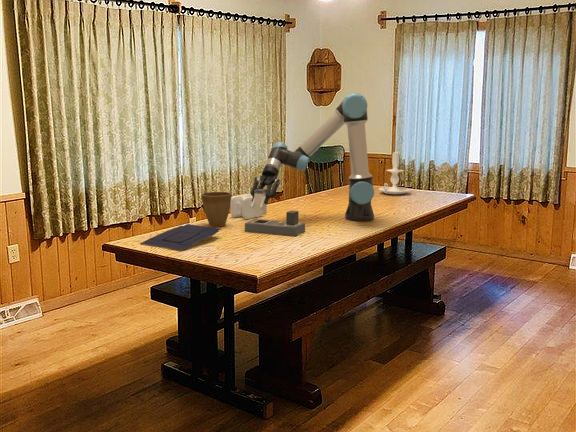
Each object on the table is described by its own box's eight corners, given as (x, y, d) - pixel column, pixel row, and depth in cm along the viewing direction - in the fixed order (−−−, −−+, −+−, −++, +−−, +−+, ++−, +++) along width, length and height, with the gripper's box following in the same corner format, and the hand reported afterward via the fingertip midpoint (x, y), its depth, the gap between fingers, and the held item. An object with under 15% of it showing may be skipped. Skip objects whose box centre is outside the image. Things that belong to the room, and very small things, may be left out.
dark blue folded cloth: (225, 235, 279) (225, 227, 278) (182, 257, 254) (181, 249, 253) (185, 229, 291) (184, 221, 290) (139, 249, 267) (138, 241, 266)
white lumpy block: (243, 220, 317) (243, 198, 315) (229, 217, 324) (229, 196, 322) (264, 216, 328) (263, 195, 325) (250, 213, 335) (250, 192, 332)
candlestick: (369, 195, 397) (370, 152, 392) (387, 190, 417) (388, 149, 411) (398, 198, 385) (400, 153, 380) (415, 193, 405) (417, 150, 399)
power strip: (305, 231, 292) (305, 210, 290) (295, 236, 281) (295, 214, 279) (255, 226, 302) (255, 206, 300) (244, 231, 291) (244, 210, 289)
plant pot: (235, 223, 310) (235, 191, 307) (226, 229, 296) (225, 196, 293) (208, 221, 314) (207, 190, 310) (197, 227, 299) (196, 195, 296)
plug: (266, 214, 294) (266, 189, 292) (262, 215, 290) (262, 190, 288) (259, 213, 296) (259, 188, 294) (254, 215, 291) (254, 190, 289)
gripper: (289, 175, 300) (275, 214, 288) (258, 173, 307) (243, 211, 295) (285, 165, 294) (271, 205, 282) (253, 163, 301) (238, 202, 289)
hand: (257, 208), depth 289 cm, fingers closed on plug, 4 cm apart
